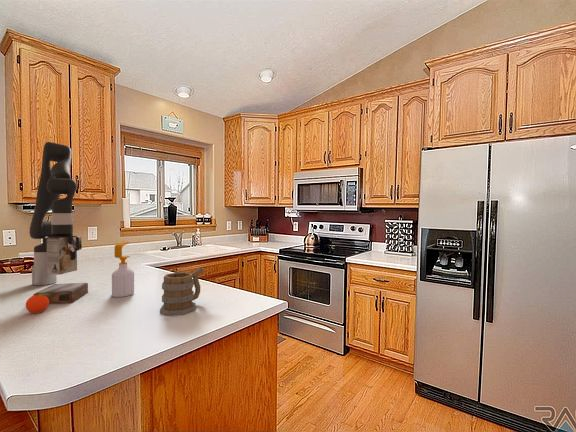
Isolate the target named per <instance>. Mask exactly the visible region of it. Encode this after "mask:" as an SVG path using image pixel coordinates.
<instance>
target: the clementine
mask: <svg viewBox="0 0 576 432" xmlns="http://www.w3.org/2000/svg"><path fill="white" fill-rule="evenodd" d="M45 295H48V294H37V295H32V296H30V297H29V298H27V300H26V302H25V309H26V310H27V312H30V313H32V314H39V313H42V312H43V311H45V310H46V309H47V308H48V307H49V305H50V304H49V299H48V297H47V296H45Z"/></svg>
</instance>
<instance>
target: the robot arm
mask: <svg viewBox="0 0 576 432" xmlns="http://www.w3.org/2000/svg"><path fill="white" fill-rule="evenodd" d="M72 152H73V151H72V148H71V147H70V146H68V145H65V144H60V143H56V142H51V141H46V142H45V144H44V145H43V149H42V158H41V159H42V161H41V169H40V176H39V181H38V186H37V189H36V197H35V198H36V199H35V205H34V211H33V215H32V218H31V222H30V226H29V236H30V238H31V239H33V240H41V239H42V243H40V244H37V245H35V246H34V248H33V266H32V267H31V285H32V286H47V285H48V286H49V285H53V284H57V280H58V279H57V278H58V277H57V275H55V274H47V237H69V242H71V241H73V240H75V242H76V247H75V246H74V245H70V244H69V243H68V248H70V250H71V251H72V252H71V260H75V259H76V257H77V258H78V251H80V250H82V249H83V248H82V246H83V245H82V236H77V237H73V236H74V220H73V219H74V218H73V202H74V201H73V200H74V197H75V194H76V192H77V187H78V184H77V182H76V180H75V179H72V178H71V165H72V164H71V163H72V154H73V153H72ZM51 162H55V163H54V164H53V165H52V166H51ZM61 195H66V197H64V198H60V196H61ZM49 211H51V220H44V219H45V216H46V215H47V213H48V212H49Z"/></svg>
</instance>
